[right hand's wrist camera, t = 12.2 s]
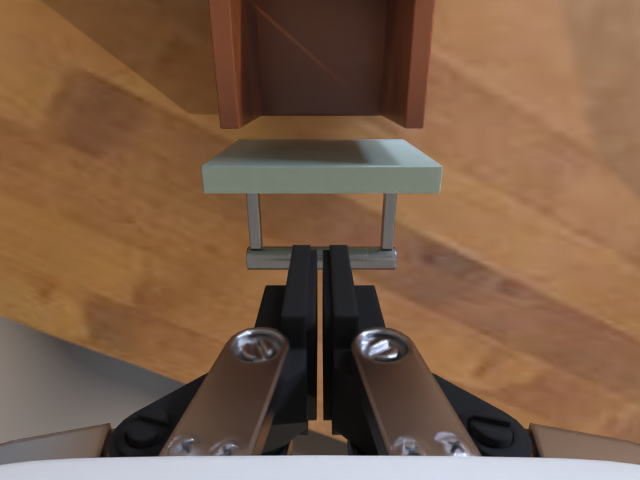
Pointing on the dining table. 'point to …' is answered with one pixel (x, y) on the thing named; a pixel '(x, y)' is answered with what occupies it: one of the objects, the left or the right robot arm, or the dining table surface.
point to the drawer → (321, 106)
